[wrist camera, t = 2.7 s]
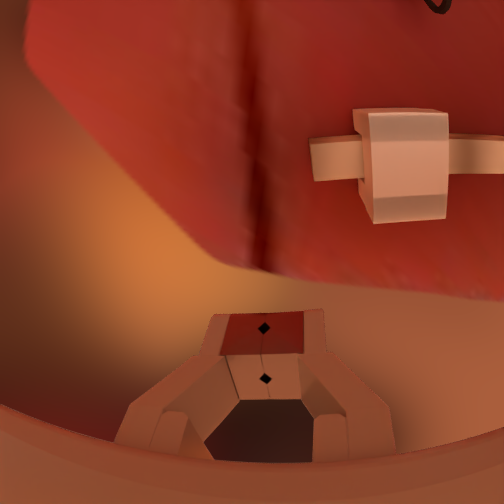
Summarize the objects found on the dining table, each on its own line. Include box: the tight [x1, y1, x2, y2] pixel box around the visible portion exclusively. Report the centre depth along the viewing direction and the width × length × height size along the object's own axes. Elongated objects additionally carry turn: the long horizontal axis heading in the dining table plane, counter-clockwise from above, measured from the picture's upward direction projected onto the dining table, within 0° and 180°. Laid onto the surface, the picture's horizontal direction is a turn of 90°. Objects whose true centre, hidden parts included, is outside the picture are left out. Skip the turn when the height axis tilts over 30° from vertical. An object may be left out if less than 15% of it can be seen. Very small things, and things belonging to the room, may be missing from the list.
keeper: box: [352, 108, 449, 224], centre depth 23 cm, size 6×8×6 cm
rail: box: [308, 133, 504, 181], centre depth 22 cm, size 28×6×5 cm, turn 100°
